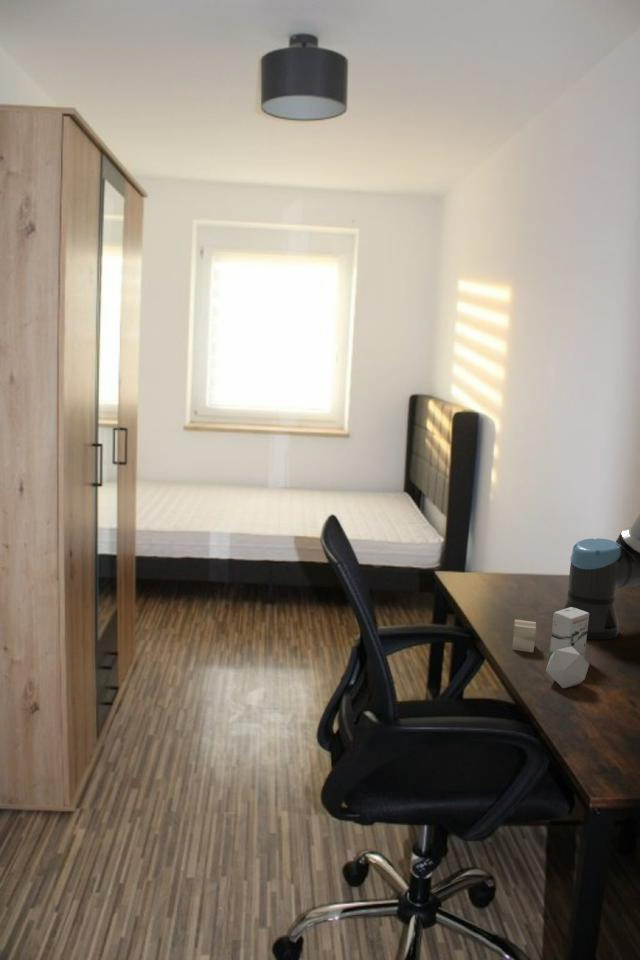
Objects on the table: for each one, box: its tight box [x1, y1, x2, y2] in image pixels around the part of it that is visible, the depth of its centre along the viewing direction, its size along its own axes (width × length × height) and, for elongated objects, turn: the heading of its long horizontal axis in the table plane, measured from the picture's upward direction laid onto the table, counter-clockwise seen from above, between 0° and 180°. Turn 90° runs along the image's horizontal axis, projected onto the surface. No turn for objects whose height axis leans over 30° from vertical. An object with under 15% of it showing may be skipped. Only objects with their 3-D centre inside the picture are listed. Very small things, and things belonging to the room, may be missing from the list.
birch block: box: [511, 619, 537, 653], centre depth 201 cm, size 5×5×6 cm
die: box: [545, 646, 590, 689], centre depth 180 cm, size 8×9×10 cm
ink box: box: [548, 607, 589, 661], centre depth 193 cm, size 9×5×12 cm, turn 134°
